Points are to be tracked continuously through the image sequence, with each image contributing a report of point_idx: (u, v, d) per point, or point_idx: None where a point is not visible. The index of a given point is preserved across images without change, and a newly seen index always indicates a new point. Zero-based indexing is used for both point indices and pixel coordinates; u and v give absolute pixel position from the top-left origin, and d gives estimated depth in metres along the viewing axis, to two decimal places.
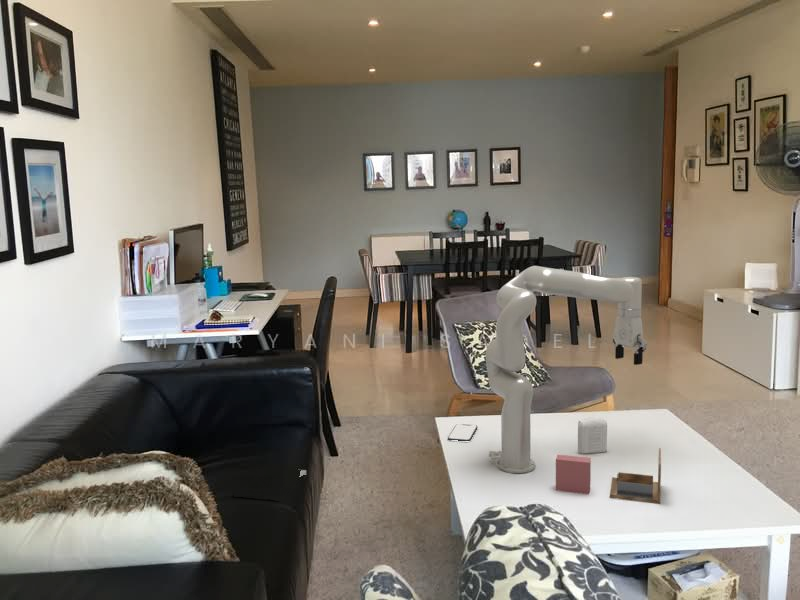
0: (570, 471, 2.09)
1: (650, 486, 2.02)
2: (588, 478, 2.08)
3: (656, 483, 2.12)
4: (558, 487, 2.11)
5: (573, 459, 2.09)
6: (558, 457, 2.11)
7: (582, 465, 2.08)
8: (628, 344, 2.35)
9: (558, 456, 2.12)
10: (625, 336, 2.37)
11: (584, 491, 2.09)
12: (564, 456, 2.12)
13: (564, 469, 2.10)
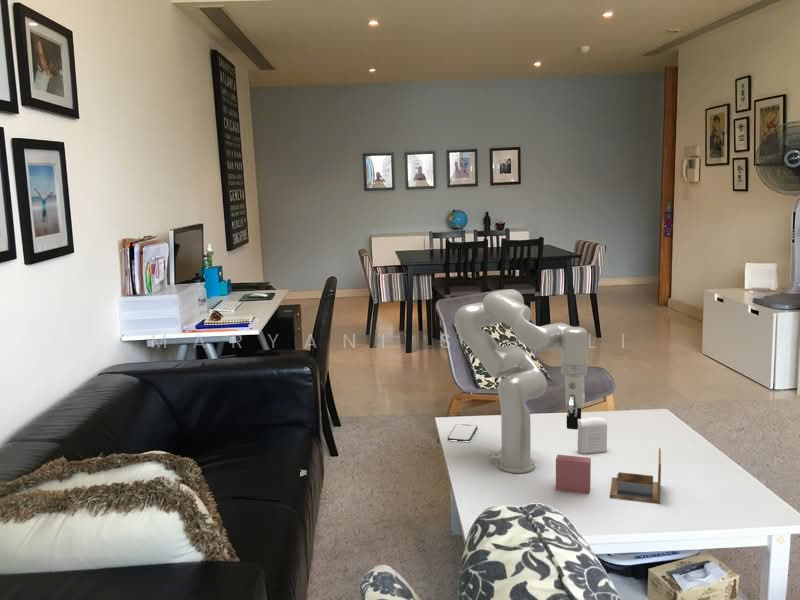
0: (570, 471, 2.09)
1: (650, 486, 2.02)
2: (588, 478, 2.08)
3: (656, 483, 2.12)
4: (558, 487, 2.11)
5: (573, 459, 2.09)
6: (558, 457, 2.11)
7: (582, 465, 2.08)
8: (584, 399, 2.09)
9: (558, 456, 2.12)
10: None
11: (584, 491, 2.09)
12: (564, 456, 2.12)
13: (564, 469, 2.10)
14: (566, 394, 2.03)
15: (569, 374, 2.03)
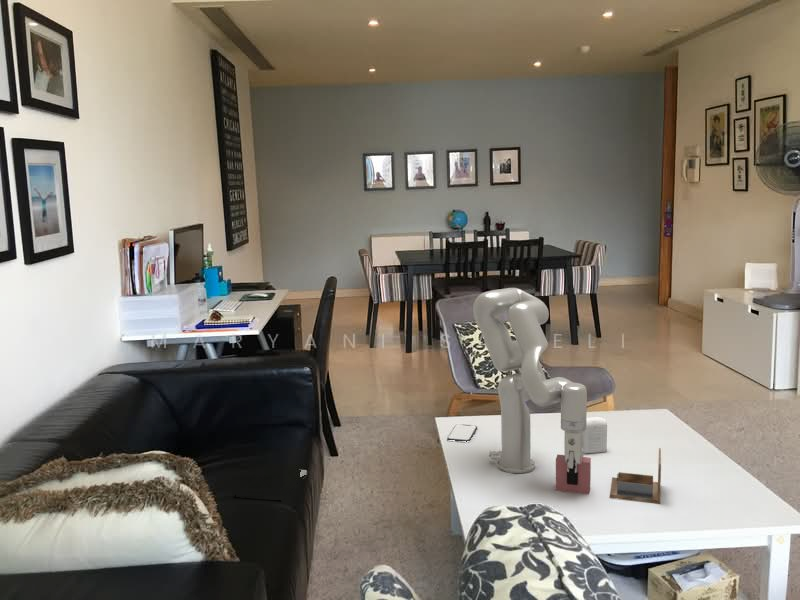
0: None
1: (650, 486, 2.02)
2: (588, 478, 2.08)
3: (656, 483, 2.12)
4: (558, 487, 2.11)
5: None
6: (558, 457, 2.11)
7: (582, 465, 2.08)
8: (583, 453, 2.12)
9: (558, 456, 2.12)
10: (583, 447, 2.10)
11: (584, 491, 2.09)
12: (564, 456, 2.12)
13: (564, 469, 2.10)
14: (565, 450, 2.06)
15: (568, 430, 2.06)
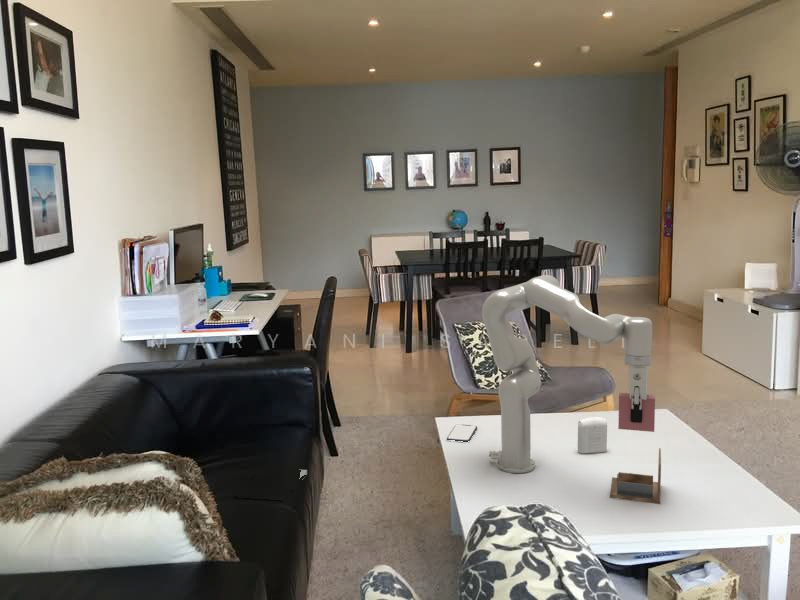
0: None
1: (650, 486, 2.02)
2: (653, 415, 2.00)
3: (656, 483, 2.12)
4: (621, 426, 2.04)
5: None
6: (621, 395, 2.04)
7: (646, 402, 2.00)
8: None
9: (621, 394, 2.05)
10: None
11: (649, 429, 2.01)
12: (627, 393, 2.05)
13: (628, 407, 2.03)
14: (630, 385, 1.99)
15: (633, 365, 1.99)
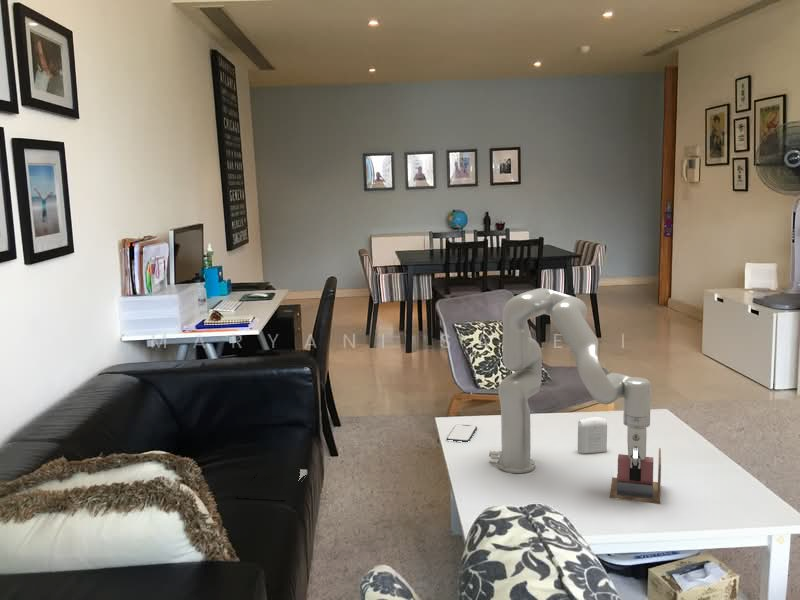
0: None
1: (650, 486, 2.02)
2: (651, 478, 2.04)
3: (656, 483, 2.12)
4: None
5: None
6: (620, 457, 2.07)
7: (645, 465, 2.04)
8: None
9: (620, 456, 2.08)
10: None
11: None
12: (625, 455, 2.08)
13: (626, 469, 2.06)
14: (629, 446, 2.01)
15: (632, 426, 2.01)
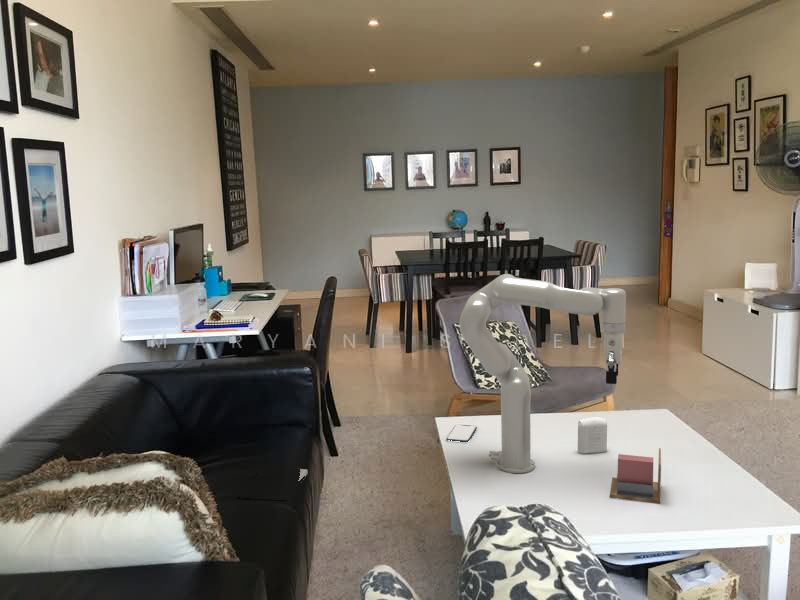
0: (633, 470, 2.05)
1: (650, 486, 2.02)
2: (651, 478, 2.04)
3: (656, 483, 2.12)
4: None
5: (636, 459, 2.05)
6: (620, 457, 2.07)
7: (645, 465, 2.04)
8: None
9: (620, 456, 2.08)
10: None
11: None
12: (625, 455, 2.08)
13: (626, 469, 2.06)
14: (606, 351, 2.16)
15: (609, 332, 2.16)
